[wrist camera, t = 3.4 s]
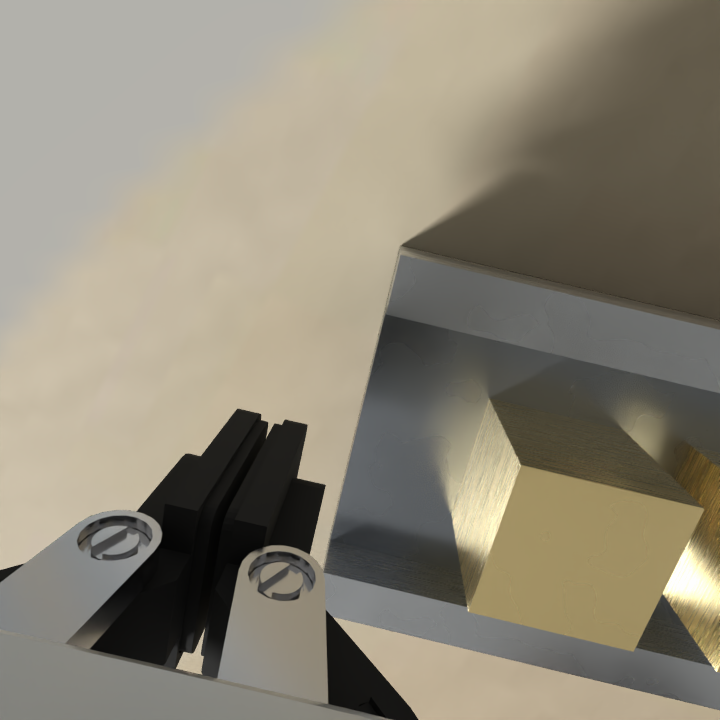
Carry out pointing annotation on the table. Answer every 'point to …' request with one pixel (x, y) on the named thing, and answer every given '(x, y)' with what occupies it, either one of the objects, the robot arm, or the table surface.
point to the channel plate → (458, 433)
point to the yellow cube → (567, 526)
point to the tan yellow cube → (700, 557)
